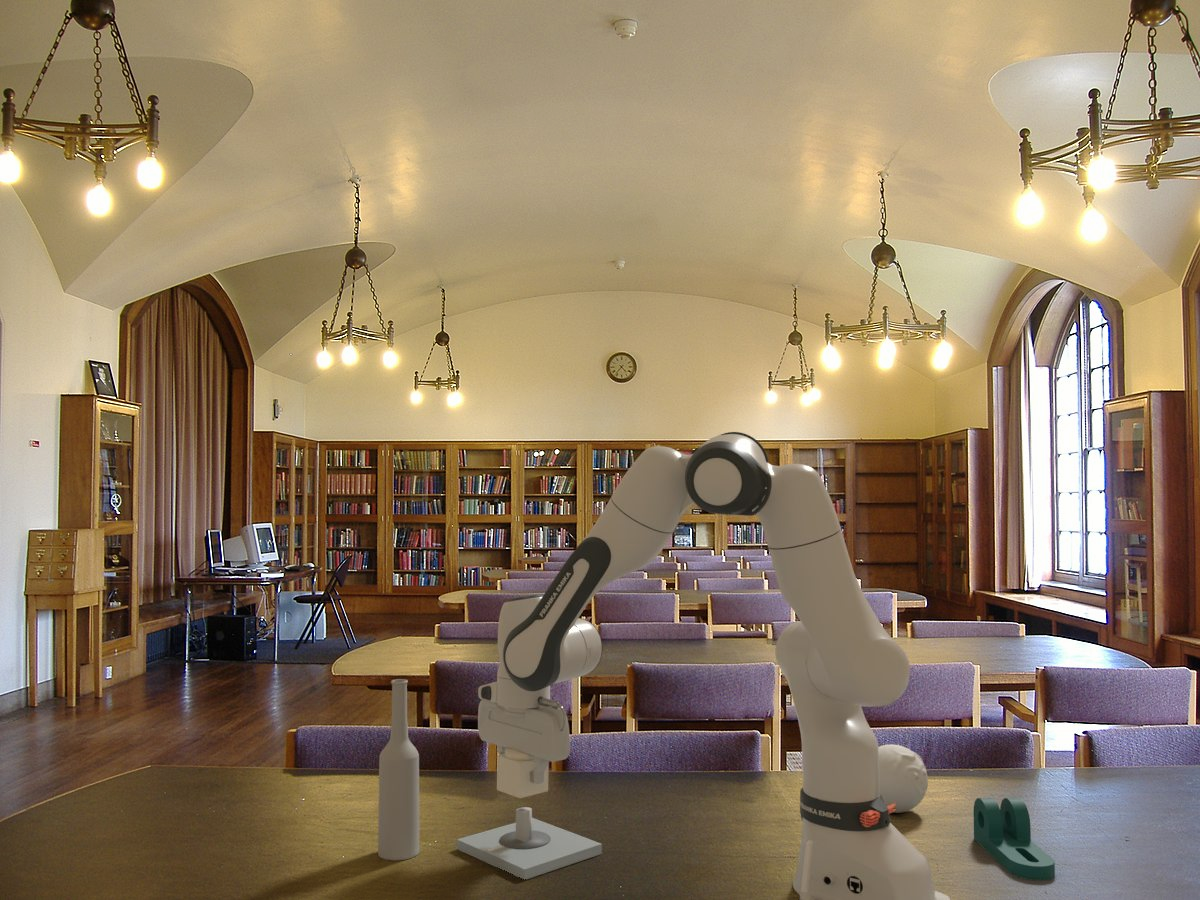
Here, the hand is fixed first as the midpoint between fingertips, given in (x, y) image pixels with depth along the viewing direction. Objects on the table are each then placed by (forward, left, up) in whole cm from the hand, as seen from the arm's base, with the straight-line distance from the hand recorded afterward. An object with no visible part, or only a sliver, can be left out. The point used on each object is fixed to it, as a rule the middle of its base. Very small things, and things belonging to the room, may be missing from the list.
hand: (522, 777), depth 163 cm
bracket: (-57, -56, -12) cm, 80 cm away
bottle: (+13, +15, -12) cm, 23 cm away
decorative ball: (-31, -63, -12) cm, 71 cm away
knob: (0, 0, -2) cm, 2 cm away
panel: (-1, -1, -12) cm, 12 cm away
